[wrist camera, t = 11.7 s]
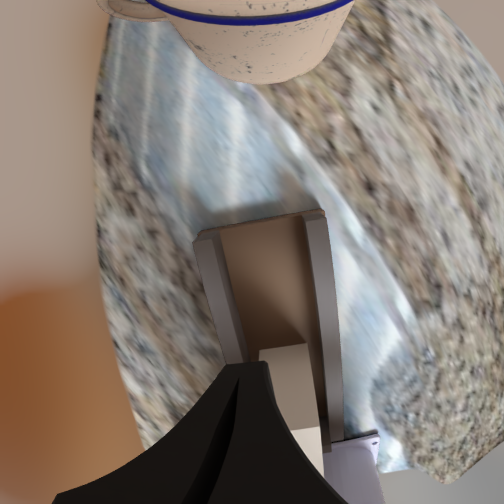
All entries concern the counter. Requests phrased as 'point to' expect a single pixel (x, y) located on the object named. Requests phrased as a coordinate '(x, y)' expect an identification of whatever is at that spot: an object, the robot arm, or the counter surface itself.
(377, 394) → the counter surface
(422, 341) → the counter surface
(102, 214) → the counter surface
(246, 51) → the teacup with lid
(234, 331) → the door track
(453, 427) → the counter surface
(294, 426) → the beige rectangular block
